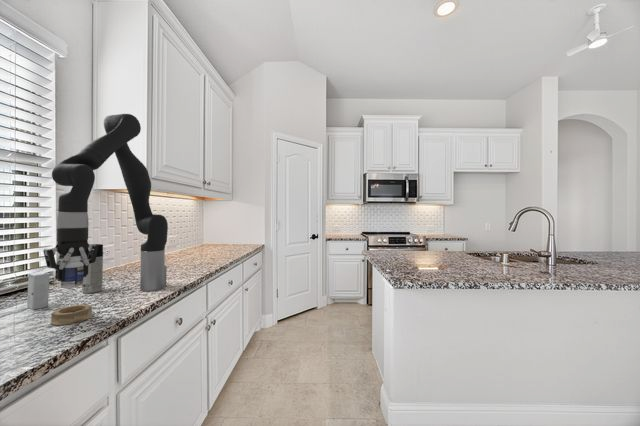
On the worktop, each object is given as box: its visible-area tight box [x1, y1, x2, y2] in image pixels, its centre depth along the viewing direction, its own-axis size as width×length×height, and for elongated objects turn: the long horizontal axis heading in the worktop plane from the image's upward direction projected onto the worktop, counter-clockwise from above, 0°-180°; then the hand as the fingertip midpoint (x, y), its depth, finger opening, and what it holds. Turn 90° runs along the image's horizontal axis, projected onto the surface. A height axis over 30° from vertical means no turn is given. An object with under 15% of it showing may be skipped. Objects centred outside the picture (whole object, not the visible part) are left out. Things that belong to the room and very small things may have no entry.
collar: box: [50, 303, 93, 326], centre depth 89 cm, size 10×10×3 cm
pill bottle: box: [60, 256, 84, 289], centre depth 88 cm, size 5×5×10 cm
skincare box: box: [26, 270, 51, 310], centre depth 99 cm, size 6×4×12 cm
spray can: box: [81, 243, 104, 294], centre depth 118 cm, size 7×7×20 cm
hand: (72, 278), depth 88 cm, fingers closed on pill bottle, 5 cm apart
